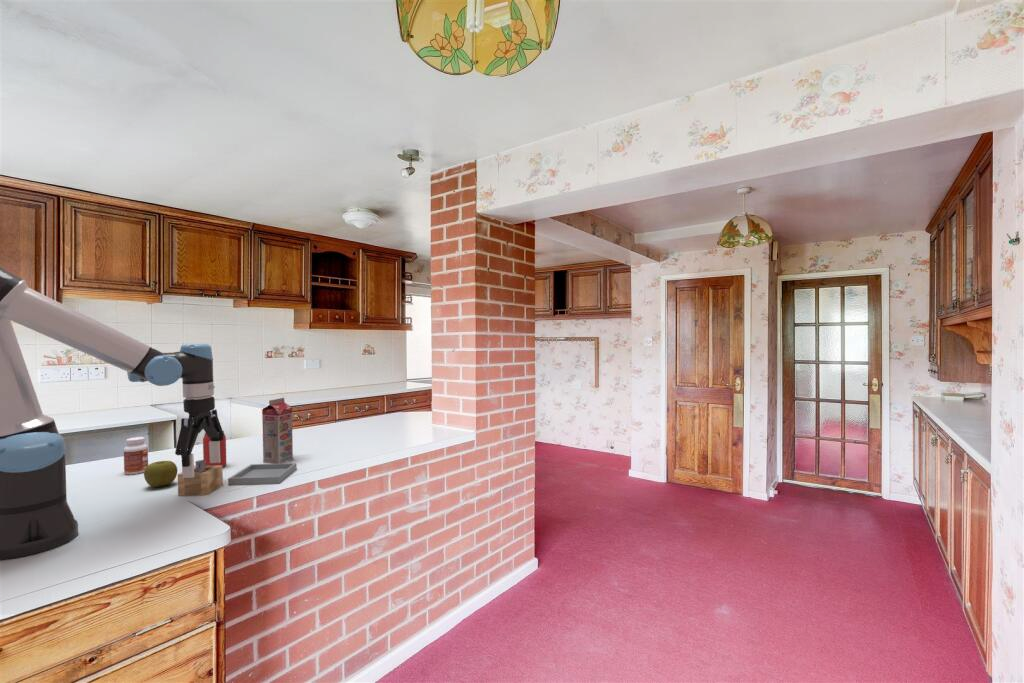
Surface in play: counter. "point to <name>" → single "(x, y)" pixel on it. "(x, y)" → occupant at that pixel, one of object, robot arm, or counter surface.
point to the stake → (200, 466)
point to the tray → (262, 474)
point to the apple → (160, 473)
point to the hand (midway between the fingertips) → (202, 469)
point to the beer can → (207, 456)
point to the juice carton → (277, 432)
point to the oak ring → (201, 481)
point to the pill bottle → (135, 456)
